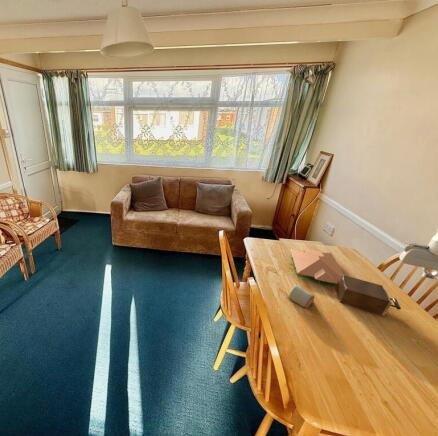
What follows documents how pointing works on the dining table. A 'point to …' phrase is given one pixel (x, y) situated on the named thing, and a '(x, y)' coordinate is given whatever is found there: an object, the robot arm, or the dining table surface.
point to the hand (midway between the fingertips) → (427, 277)
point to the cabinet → (362, 294)
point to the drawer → (391, 303)
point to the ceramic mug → (301, 296)
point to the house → (317, 266)
